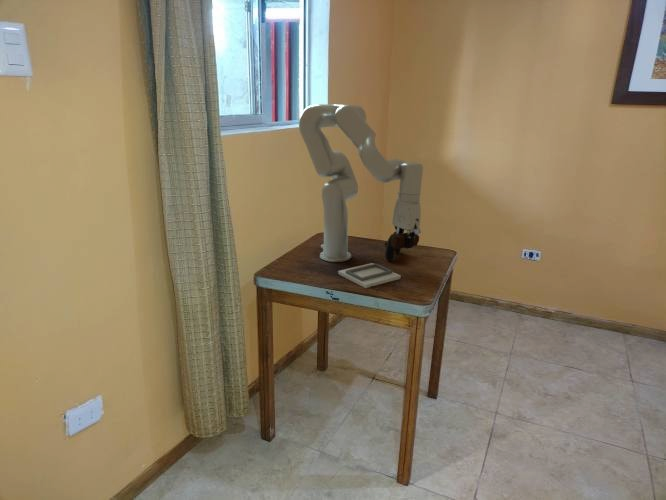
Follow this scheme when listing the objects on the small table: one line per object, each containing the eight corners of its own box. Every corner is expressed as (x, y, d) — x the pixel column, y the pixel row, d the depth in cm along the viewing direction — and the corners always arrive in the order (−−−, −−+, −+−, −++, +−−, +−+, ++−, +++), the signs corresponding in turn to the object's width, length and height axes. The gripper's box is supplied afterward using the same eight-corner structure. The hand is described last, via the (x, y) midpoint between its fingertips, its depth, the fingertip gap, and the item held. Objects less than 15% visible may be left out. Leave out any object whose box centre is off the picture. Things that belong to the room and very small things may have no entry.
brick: (397, 249, 165) (398, 237, 163) (390, 246, 168) (391, 234, 166) (418, 245, 171) (420, 233, 169) (411, 242, 174) (412, 230, 172)
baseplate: (338, 273, 168) (338, 268, 167) (372, 265, 176) (372, 260, 176) (365, 288, 155) (365, 282, 155) (400, 278, 164) (400, 272, 163)
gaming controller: (389, 250, 194) (391, 228, 191) (403, 252, 192) (405, 229, 189) (380, 261, 182) (381, 236, 179) (395, 263, 180) (396, 238, 177)
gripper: (385, 193, 168) (381, 241, 174) (418, 203, 155) (412, 254, 161) (400, 191, 172) (396, 238, 178) (433, 201, 159) (428, 251, 165)
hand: (404, 245), depth 169 cm, fingers closed on brick, 4 cm apart
